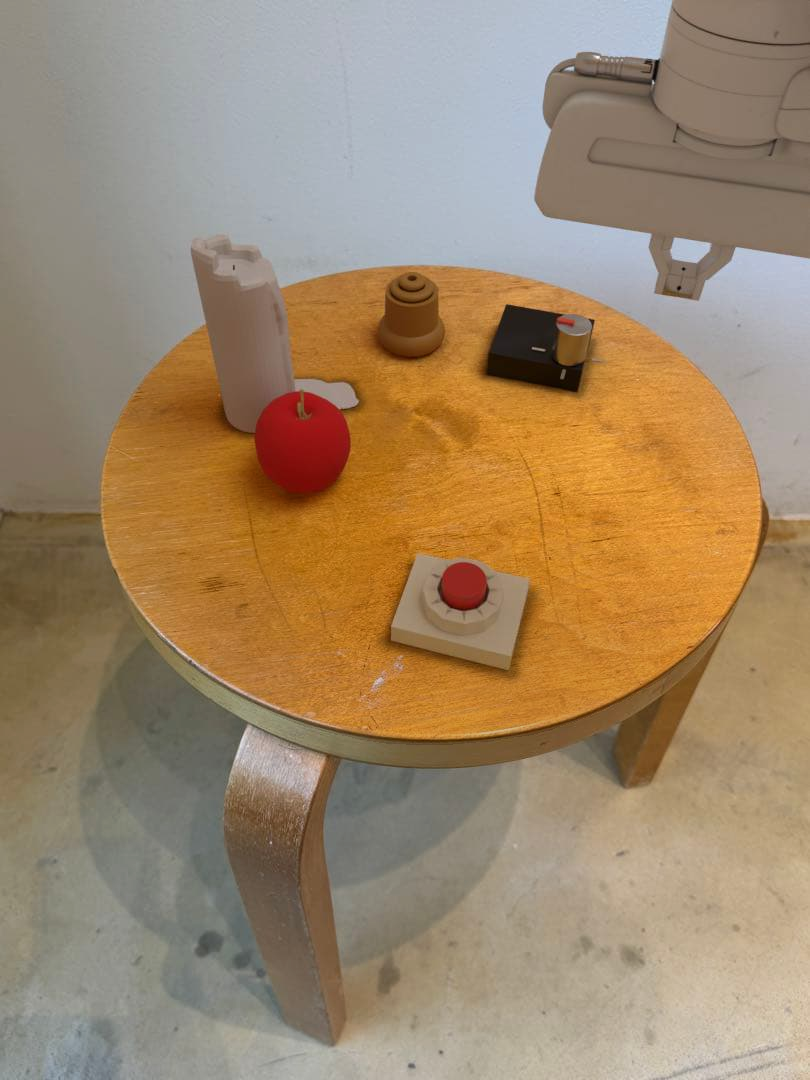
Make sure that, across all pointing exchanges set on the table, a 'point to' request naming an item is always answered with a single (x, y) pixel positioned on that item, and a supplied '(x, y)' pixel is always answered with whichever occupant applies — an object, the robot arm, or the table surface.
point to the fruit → (302, 442)
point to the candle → (250, 332)
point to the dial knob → (571, 339)
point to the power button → (463, 585)
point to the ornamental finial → (411, 316)
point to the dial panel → (531, 350)
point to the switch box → (460, 614)
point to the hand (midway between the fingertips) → (676, 292)
